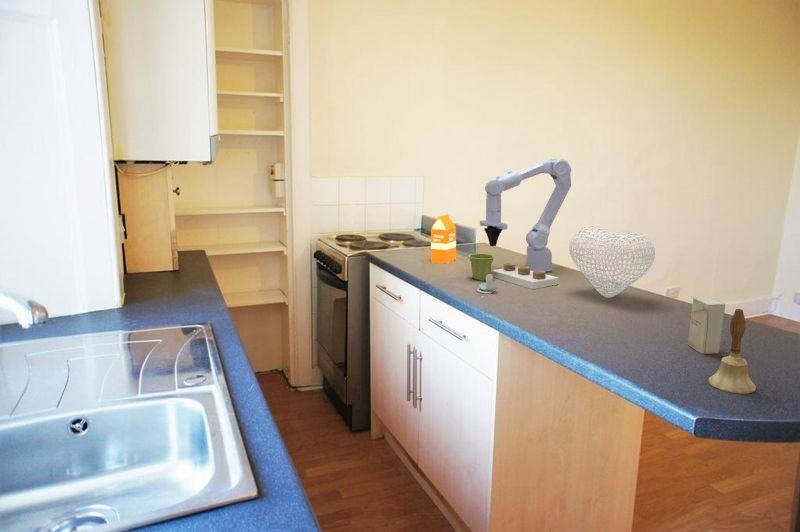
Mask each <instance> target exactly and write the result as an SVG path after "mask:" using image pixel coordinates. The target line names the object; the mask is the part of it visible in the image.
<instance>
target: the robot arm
mask: <svg viewBox="0 0 800 532" xmlns="http://www.w3.org/2000/svg"><path fill="white" fill-rule="evenodd" d="M571 173H572V168H571V166H570V164H569V162H568V161H567V160H566V159H563V158H561V159H560V158H559V159H558V158H551V159H549V160H545V161H542V162H539V163H537V164H534V165H533V166H530V167H529V168H525V169H524V170H522V171H520V172H517V171H515V170H513V171H512V170H508V171H507V173H506V174H503V175H501V176H496V177H495V179H490V180H488V181H487V182H486V183H485V186H484V190H485V192H486V199H485V200H486V201H485V220H479V226H480V227H484V228H483V229H484V230H483V231H485V234H486V236H487V239H488V242H489V246H490V247H497V244H498V240H499V237H500V235H501V233H502V231H504V230H508V223H507V224H506V223H504V222H502V193H503V192H506V191H509V190H511V189H513V188H515V187H518V186H520V185H521V183H522V181H525V180H527V179H529V178H532V177H534V176H538V175H540V174H547V175H550V177H551V178H552V180H553V182H554V184H555V187H554V189H553V191H552V192H551V195H550V197H549V199H548V200H547V202H546V205H545V206H544V209H543V211H542V213H541V214H540V217H539V218H538V220H537V222H536V223H535V224H534V225H533V227H532V229H531V230H529V231H528V232H527V234H526V236H525V240H526V242H527V244H528V245H527V247H526V264H525V265H526V267H529V268H530V270H531V271H537V270H541V271H545V272H552V271H553V270H554V269H553V268H552V265H553V264H552V262H553V261H552V258H553V253H552V251H551V248H548V247H547V245H548V238H549V236H550V232H551V231H550V228H552V227H551V226H552V225H553V223H554V220H555V218H556V216H557V215H558V213H559V211H560V209H561V207H562V204H563V202H564V201H565V199H566V197H567V195H568V193H569V191H570V189H571V187H572V181H571V180H572V179H571V178H572V176H571ZM553 272H554V271H553Z"/></svg>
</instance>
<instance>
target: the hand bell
mask: <svg viewBox="0 0 800 532" xmlns="http://www.w3.org/2000/svg"><path fill="white" fill-rule="evenodd" d="M746 325H747V323H746V318H745V315H744V309H741V308H736V309H735V311H734V312H733V315H732V316H731V319H730V325H729V330H730V331H729V332H730V337H731V345H730V346H731V347H730V354H729V355H728V356H724V357H722V358H721V361H720V365H719V368H718V370H717V371H716V372H715V373H714V374H713V375H711V376H709V378H708V383H709V384H710V385H711V386H712V387H713V388H716V389H718V390H720V391H724V392H726V393H727V392H728V393H733V394H738V395H740V394H741V395H742V394H743V395H745V394H751V393H754V392H755V391H756V390H757V387H756V385H755V383H754V382H753V381H752V379H751V378H750V375H749V371H748V370H749V369H748V362H747V360H746V359H745V358H743V357H741V347H742V346H741V345H742V338H743V337H744V334H745V331H746Z"/></svg>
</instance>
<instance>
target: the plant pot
mask: <svg viewBox="0 0 800 532" xmlns="http://www.w3.org/2000/svg"><path fill="white" fill-rule="evenodd" d="M468 258H469V261H470V264H471V273H472V279H473V280H477V281H486V276H487V275H488V274H491V270H492V263H493V260H494V258H495V256H494V255H493V254H488V253H473V254H472V253H471V254H469V255H468Z"/></svg>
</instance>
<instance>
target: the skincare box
mask: <svg viewBox="0 0 800 532" xmlns="http://www.w3.org/2000/svg"><path fill="white" fill-rule="evenodd" d="M725 311H726V303H724V302H722V301H719V300H717V299H715V298H712V297H710V296H703V297H702V296H700V297H699V296H697V297H694V296H693V298H692V305H691V312H690V313H691V314H690V322H689V331H688V335H687V345H688V347H691V348H692V349H694V350H695V351H697V352H698V353H699V354H703V355H705V354H706V355H708V354H719V353H720V348H721V339H722V333H723V325H724V318H725V317H724V316H725Z"/></svg>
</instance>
